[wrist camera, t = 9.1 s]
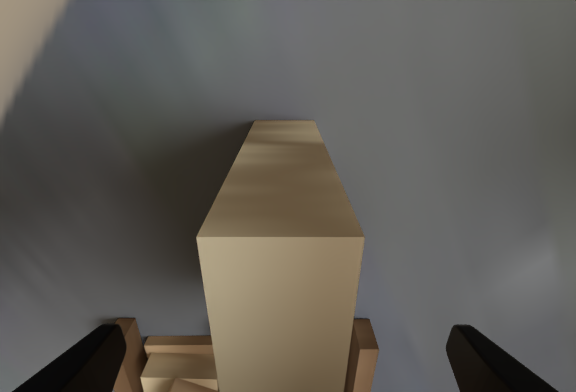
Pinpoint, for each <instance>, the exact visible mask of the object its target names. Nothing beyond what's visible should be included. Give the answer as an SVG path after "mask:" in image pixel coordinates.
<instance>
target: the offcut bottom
mask: <svg viewBox="0 0 576 392" xmlns="http://www.w3.org/2000/svg"><path fill="white" fill-rule="evenodd" d="M144 348H145V351H146V354H147V357H148V359H149V357H150V355H151V353H177V354H209V355H214V351H213V344H212V338H211V336H148V338H147V340H146V342H145V344H144Z"/></svg>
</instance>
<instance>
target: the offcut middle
mask: <svg viewBox="0 0 576 392" xmlns="http://www.w3.org/2000/svg"><path fill="white" fill-rule="evenodd" d="M140 378H141V382H142V386H143V390H144V392H167V391H168V389H169V388H170V386H171V385H172V383H173V381H174V380H175V378H179V379H182V380H185V381H188V382H192V383H195V384H198V385H201V386H204V387H207V388H210V389H213V390H216V391H219V392H220V390H219V384H218V377H217V371H216V364H215V357H214V355H209V354H177V353H151V355H150V357H149V359H148V361H147V364H146V366H145V368H144V370H143V372H142V375H141V377H140Z"/></svg>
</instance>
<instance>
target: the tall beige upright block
mask: <svg viewBox="0 0 576 392" xmlns="http://www.w3.org/2000/svg"><path fill="white" fill-rule="evenodd" d="M196 239H197V245H198V252H199V258H200V265H201V272H202V278H203V285H204V291H205V298H206V305H207V311H208V318H209V324H210V331H211V338H212V344H213V351H214V357H215V364H216V371H217V377H218V384H219V390H220V392H344V386H345V379H346V371H347V364H348V357H349V349H350V342H351V335H352V327H353V320H354V313H355V305H356V298H357V291H358V283H359V276H360V269H361V261H362V254H363V247H364V239H365V237H364V234H363V232H362V230H361V227H360V225H359V223H358V220H357V218H356V216H355V214H354V211H353V209H352V207H351V204H350V202H349V200H348V197H347V195H346V193H345V191H344V188H343V186H342V184H341V181H340V179H339V177H338V174H337V172H336V170H335V168H334V165H333V163H332V161H331V158H330V156H329V154H328V151H327V149H326V147H325V145H324V142H323V140H322V138H321V135H320V133H319V131H318V128H317V126H316V124H315V122H314V120H255V121H254V123H253V125H252V127H251V129H250V131H249V133H248V135H247V137H246V139H245V141H244V143H243V145H242V147H241V149H240V151H239V153H238V155H237V157H236V159H235V161H234V163H233V165H232V167H231V169H230V171H229V173H228V175H227V177H226V179H225V181H224V183H223V185H222V187H221V189H220V191H219V193H218V195H217V197H216V199H215V201H214V203H213V205H212V207H211V209H210V211H209V213H208V215H207V217H206V219H205V221H204V223H203V225H202V227H201V229H200V231H199V233H198V235H197V237H196Z"/></svg>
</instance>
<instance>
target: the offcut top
mask: <svg viewBox="0 0 576 392" xmlns="http://www.w3.org/2000/svg"><path fill="white" fill-rule="evenodd" d="M167 392H219V391H216V390H213V389H210V388H207V387H204V386H201V385H198V384H195V383H192V382H188V381H185V380H182V379H179V378H175V380H174V381H173V383H172V385H171V386H170V388H169V389H168V391H167Z"/></svg>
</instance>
